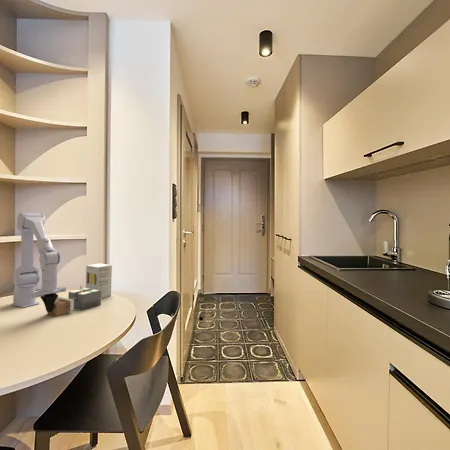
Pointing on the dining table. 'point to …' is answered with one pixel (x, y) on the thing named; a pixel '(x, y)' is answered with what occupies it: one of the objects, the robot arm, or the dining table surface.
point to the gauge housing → (86, 298)
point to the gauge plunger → (70, 300)
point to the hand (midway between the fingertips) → (49, 311)
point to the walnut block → (59, 308)
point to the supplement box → (99, 278)
